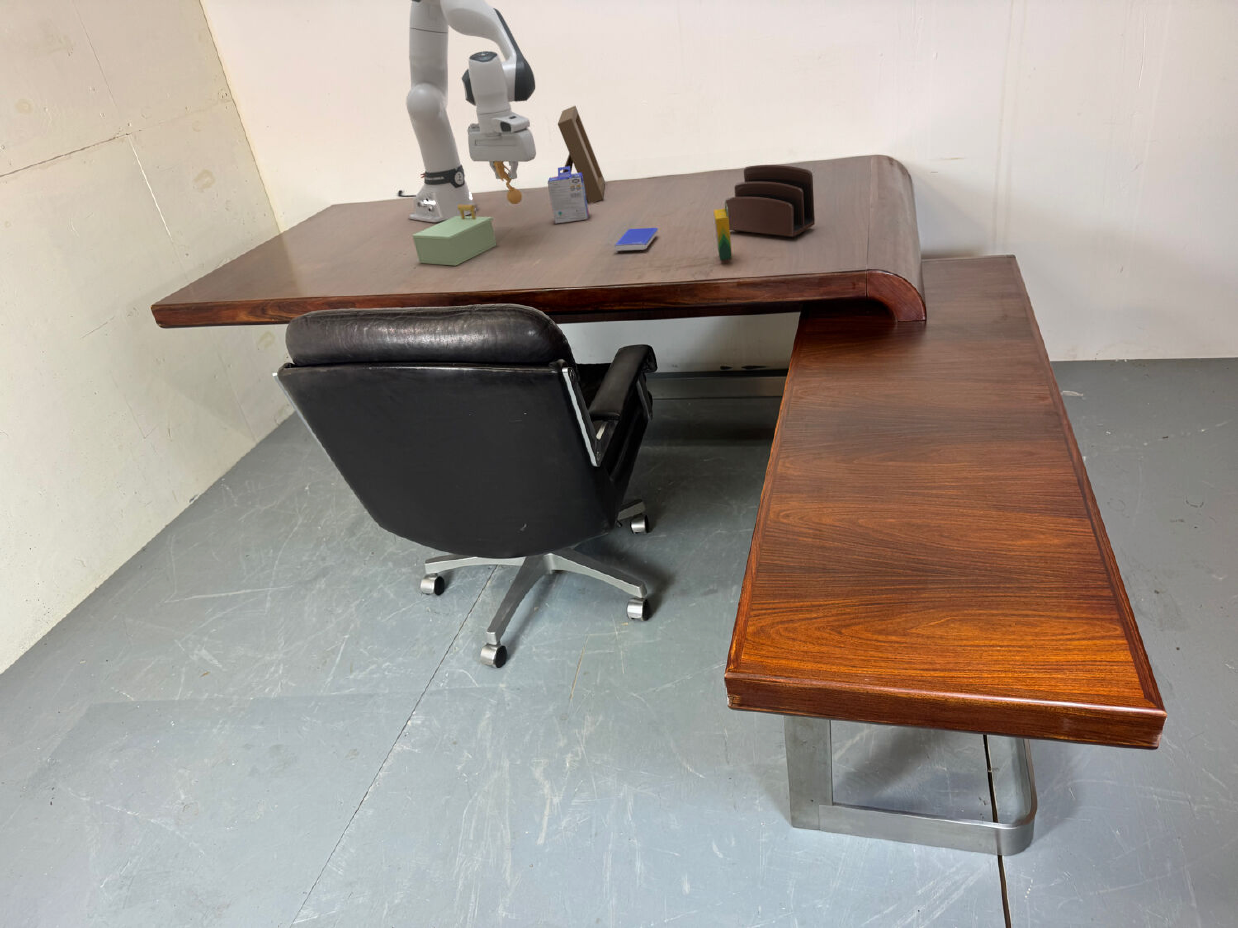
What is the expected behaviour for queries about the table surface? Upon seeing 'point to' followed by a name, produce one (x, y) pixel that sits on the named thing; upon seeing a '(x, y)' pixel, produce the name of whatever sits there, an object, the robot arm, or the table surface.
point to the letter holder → (773, 201)
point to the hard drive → (636, 239)
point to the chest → (456, 246)
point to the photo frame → (581, 154)
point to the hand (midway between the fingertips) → (506, 178)
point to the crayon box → (723, 233)
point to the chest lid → (454, 225)
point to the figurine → (513, 194)
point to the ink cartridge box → (568, 196)
